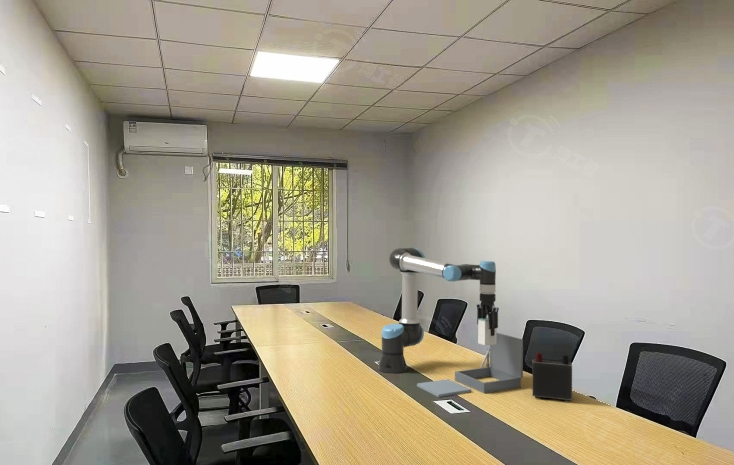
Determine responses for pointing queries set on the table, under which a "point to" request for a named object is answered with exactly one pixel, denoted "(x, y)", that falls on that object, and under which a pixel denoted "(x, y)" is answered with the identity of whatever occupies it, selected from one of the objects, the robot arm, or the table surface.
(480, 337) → the block
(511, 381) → the case
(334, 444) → the table surface
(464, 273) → the robot arm
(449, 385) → the pad
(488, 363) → the tow hook
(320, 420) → the table surface
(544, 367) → the voltmeter
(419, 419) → the table surface
